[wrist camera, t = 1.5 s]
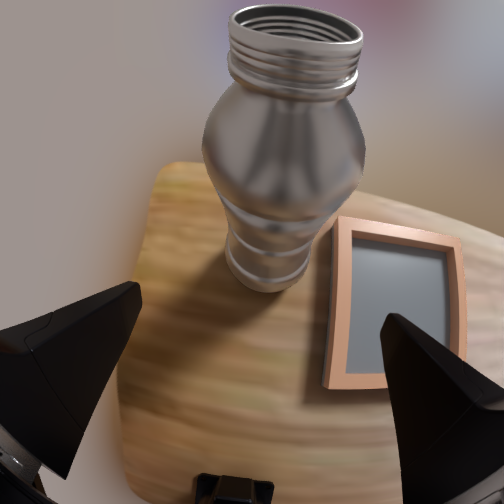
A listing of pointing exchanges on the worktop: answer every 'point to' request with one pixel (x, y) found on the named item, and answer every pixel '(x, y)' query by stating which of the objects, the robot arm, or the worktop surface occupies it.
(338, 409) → the worktop surface
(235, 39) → the silver tall hollow piece
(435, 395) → the robot arm
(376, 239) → the tray
